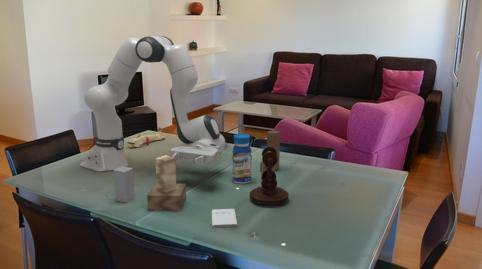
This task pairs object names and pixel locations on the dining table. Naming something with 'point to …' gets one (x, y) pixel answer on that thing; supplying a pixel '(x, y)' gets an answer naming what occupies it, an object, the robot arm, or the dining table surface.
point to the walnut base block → (167, 198)
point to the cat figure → (145, 139)
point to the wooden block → (274, 142)
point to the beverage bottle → (241, 159)
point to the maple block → (165, 173)
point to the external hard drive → (223, 218)
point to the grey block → (124, 184)
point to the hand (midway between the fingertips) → (183, 159)
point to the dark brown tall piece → (269, 182)
